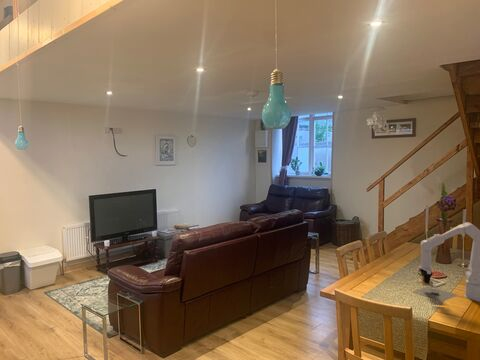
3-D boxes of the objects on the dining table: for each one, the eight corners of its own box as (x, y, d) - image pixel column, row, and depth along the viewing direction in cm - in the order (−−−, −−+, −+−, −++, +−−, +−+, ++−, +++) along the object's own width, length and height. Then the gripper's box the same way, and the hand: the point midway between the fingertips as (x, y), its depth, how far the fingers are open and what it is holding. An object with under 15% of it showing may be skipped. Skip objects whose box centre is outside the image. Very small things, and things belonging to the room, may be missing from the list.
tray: (445, 285, 234) (445, 282, 234) (435, 288, 228) (435, 285, 228) (428, 280, 243) (428, 277, 243) (419, 283, 237) (419, 280, 237)
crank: (439, 294, 215) (439, 287, 215) (432, 294, 216) (432, 286, 216) (434, 288, 226) (434, 281, 225) (427, 287, 226) (427, 280, 226)
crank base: (458, 296, 215) (458, 294, 215) (441, 303, 206) (441, 301, 205) (428, 287, 230) (428, 285, 230) (411, 293, 221) (411, 291, 221)
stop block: (428, 283, 223) (428, 275, 223) (430, 285, 219) (430, 277, 219) (421, 283, 224) (421, 275, 224) (423, 285, 220) (423, 277, 220)
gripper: (416, 256, 229) (415, 277, 230) (422, 263, 215) (421, 285, 216) (428, 256, 227) (427, 278, 228) (435, 263, 213) (434, 286, 214)
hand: (425, 281), depth 222 cm, fingers closed on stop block, 4 cm apart
